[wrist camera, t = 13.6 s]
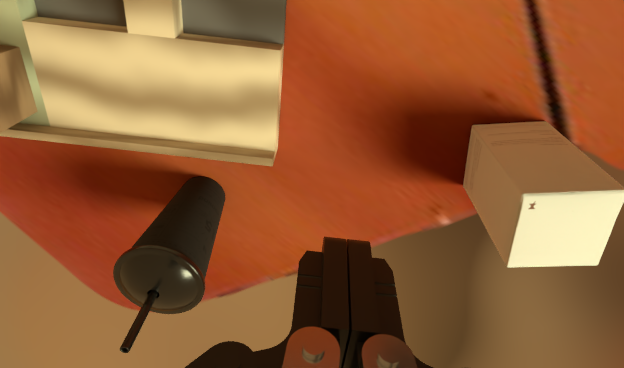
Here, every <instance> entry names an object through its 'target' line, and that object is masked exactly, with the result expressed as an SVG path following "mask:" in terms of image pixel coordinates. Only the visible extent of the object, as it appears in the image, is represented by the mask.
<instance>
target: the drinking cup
mask: <svg viewBox="0 0 624 368" xmlns="http://www.w3.org/2000/svg"><path fill="white" fill-rule="evenodd" d="M224 202H225V193H224V191H223V189H222V187H221V186H220V185H219V184H218V183H217V182H216V181H214V180H212V179H210V178H207V177H194V178H191V179H190V180H188V181H187V182H186V183H185V184H184V185H183V187H182V188H181V189H180V190H179V191H178V193H177V194H176V195H175V196H174V197H173V199H172V200H171V201H170V202H169V203H168V205H167V206H166V207H165V208H164V209H163V211H162V212H161V213H160V214H159V215H158V217H157V218H156V219H155V220H154V221H153V223H152V224H151V225H150V226H149V227H148V229H147V230H146V231H145V232H144V233H143V235H142V236H141V237H140V238H139V239H138V241H137V242H136V243H135V244H134V245H133V247H132V248H131V249H129V250H127V251H126V252H124V253H123V254H122V255H121V256H120V257H119V259H118V260H117V262H116V263H115V266H114V271H113V275H114V280H115V283H116V285H117V287H118V289H119V290H120V291H121V293H122V294H123V295H124V296H125V297H126V298H127V299H129V300H130V301H131V302H133V303H134V304H136V305H138V306H139V307H141V309H140V311H139V313H138V315H137V317H136V319H135V321H134V323H133V324H132V326H131V328H130V330H129V332H128V334H127V336H126V338H125V340H124V342H123V344H122V345H121V347H120V351H121V352H123V353H128V352H129V351H130V349H131V347H132V345H133V343H134V341H135V339H136V337H137V335H138V333H139V331H140V329H141V327H142V325H143V323H144V321H145V319H146V317H147V315H148V313H149V311H152V312H156V313H162V314H176V313H182V312H186V311H188V310H190V309H192V308H193V307H195V306H196V305H197V304H198V303H199V302H200V301H201V299H202V297H203V295H204V292H205V276H206V272H207V268H208V264H209V260H210V256H211V253H212V249H213V245H214V241H215V237H216V233H217V229H218V225H219V221H220V218H221V214H222V210H223V206H224Z"/></svg>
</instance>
